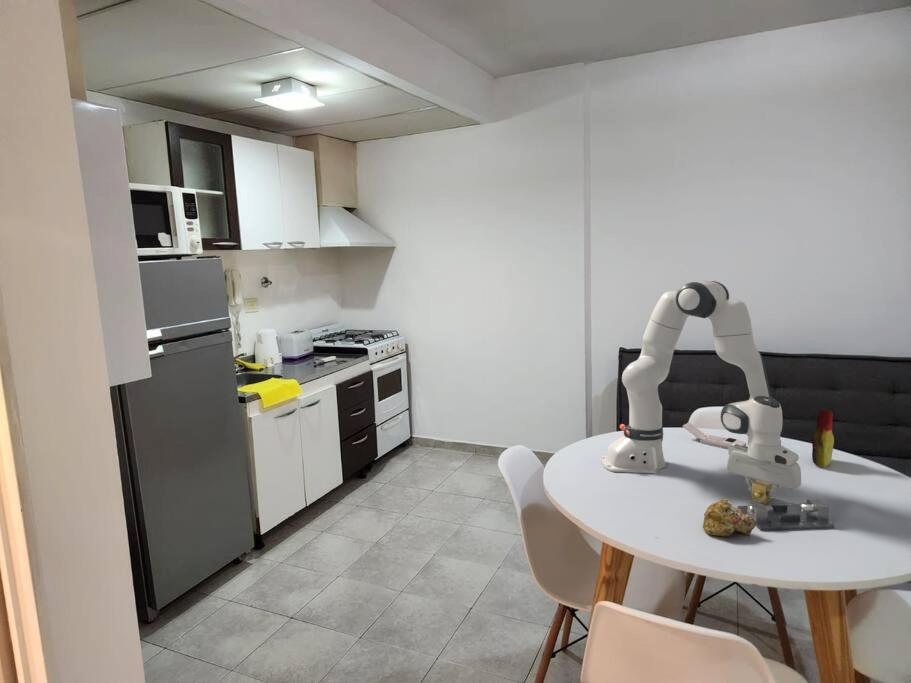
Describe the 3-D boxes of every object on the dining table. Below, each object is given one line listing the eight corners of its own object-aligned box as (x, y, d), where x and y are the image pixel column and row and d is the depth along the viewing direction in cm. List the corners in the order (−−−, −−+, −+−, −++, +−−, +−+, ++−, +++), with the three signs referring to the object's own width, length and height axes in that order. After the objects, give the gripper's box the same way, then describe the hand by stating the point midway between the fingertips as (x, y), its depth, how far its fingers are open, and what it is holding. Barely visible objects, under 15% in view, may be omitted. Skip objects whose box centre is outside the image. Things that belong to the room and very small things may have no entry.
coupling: (763, 505, 169) (763, 488, 168) (749, 501, 172) (750, 484, 171) (772, 498, 174) (773, 481, 173) (759, 494, 177) (760, 477, 176)
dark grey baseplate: (759, 530, 155) (760, 513, 154) (736, 509, 168) (737, 493, 167) (835, 528, 155) (836, 510, 154) (805, 506, 168) (806, 490, 167)
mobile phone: (687, 422, 232) (752, 434, 214) (687, 436, 233) (752, 449, 215) (681, 425, 228) (746, 439, 210) (680, 439, 229) (746, 454, 211)
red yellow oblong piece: (830, 471, 192) (834, 414, 189) (808, 467, 196) (812, 411, 193) (833, 460, 201) (837, 406, 198) (812, 456, 205) (816, 403, 202)
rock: (739, 548, 155) (760, 521, 152) (729, 555, 149) (751, 527, 146) (702, 518, 162) (721, 491, 159) (690, 524, 156) (711, 496, 153)
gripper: (724, 445, 176) (722, 486, 179) (796, 462, 161) (793, 507, 163) (733, 440, 180) (731, 481, 183) (804, 456, 165) (801, 501, 167)
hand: (761, 493), depth 173 cm, fingers closed on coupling, 4 cm apart
